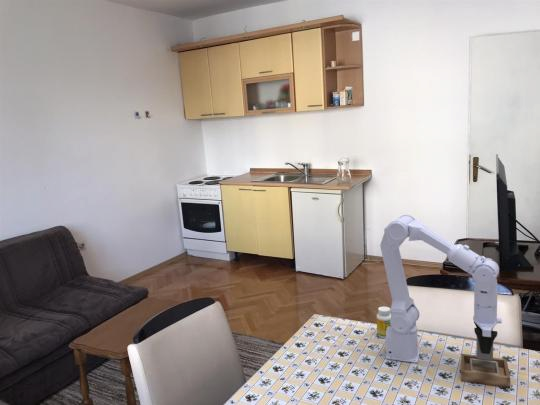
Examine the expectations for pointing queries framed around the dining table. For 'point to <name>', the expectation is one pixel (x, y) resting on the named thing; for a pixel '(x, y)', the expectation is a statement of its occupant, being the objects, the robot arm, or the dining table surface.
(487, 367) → the box
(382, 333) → the supplement bottle
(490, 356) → the grey rectangular block
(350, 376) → the dining table surface
